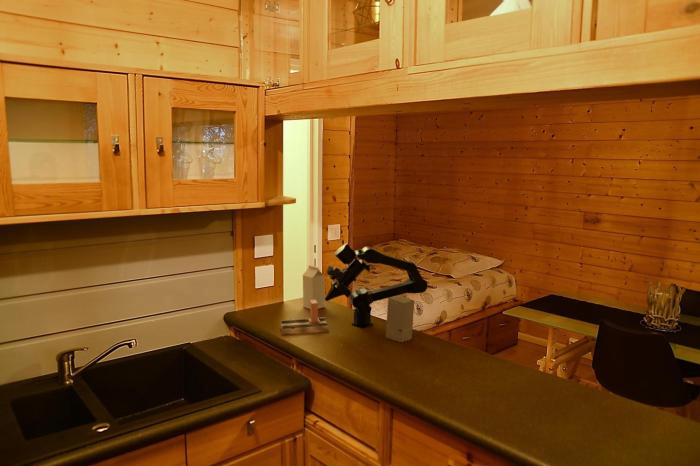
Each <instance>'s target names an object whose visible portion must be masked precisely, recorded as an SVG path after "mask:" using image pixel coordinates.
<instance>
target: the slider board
mask: <svg viewBox="0 0 700 466" xmlns="http://www.w3.org/2000/svg"><path fill="white" fill-rule="evenodd" d="M318 318H319V321H320V323H309V321H308V318H307V317H306V318H295V319H294V318H293V319H292V318H289V319H280V328H281V332H282V335H297V334H309V333H322V332H323V333H324V332H325V333H327V332H329V323H328V322H327V321H326V317H318Z"/></svg>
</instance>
